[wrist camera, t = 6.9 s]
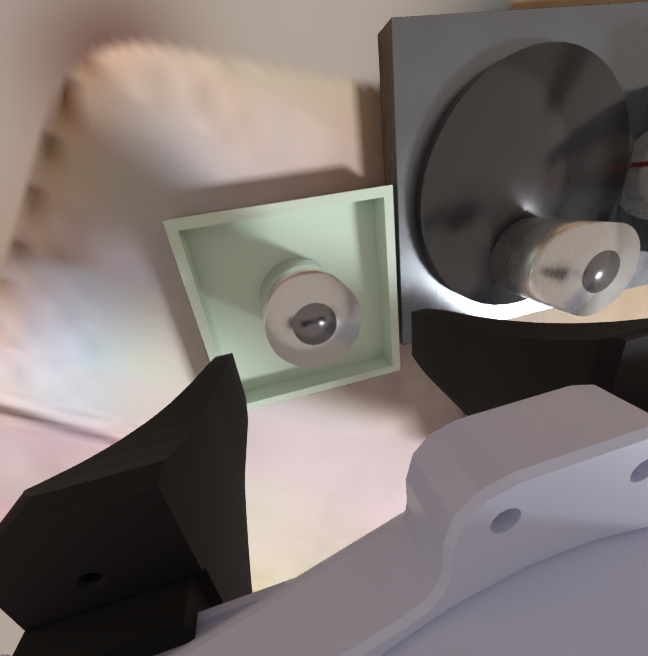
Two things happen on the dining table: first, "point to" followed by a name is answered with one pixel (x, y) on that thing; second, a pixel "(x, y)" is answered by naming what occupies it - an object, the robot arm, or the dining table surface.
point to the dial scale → (508, 140)
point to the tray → (269, 250)
